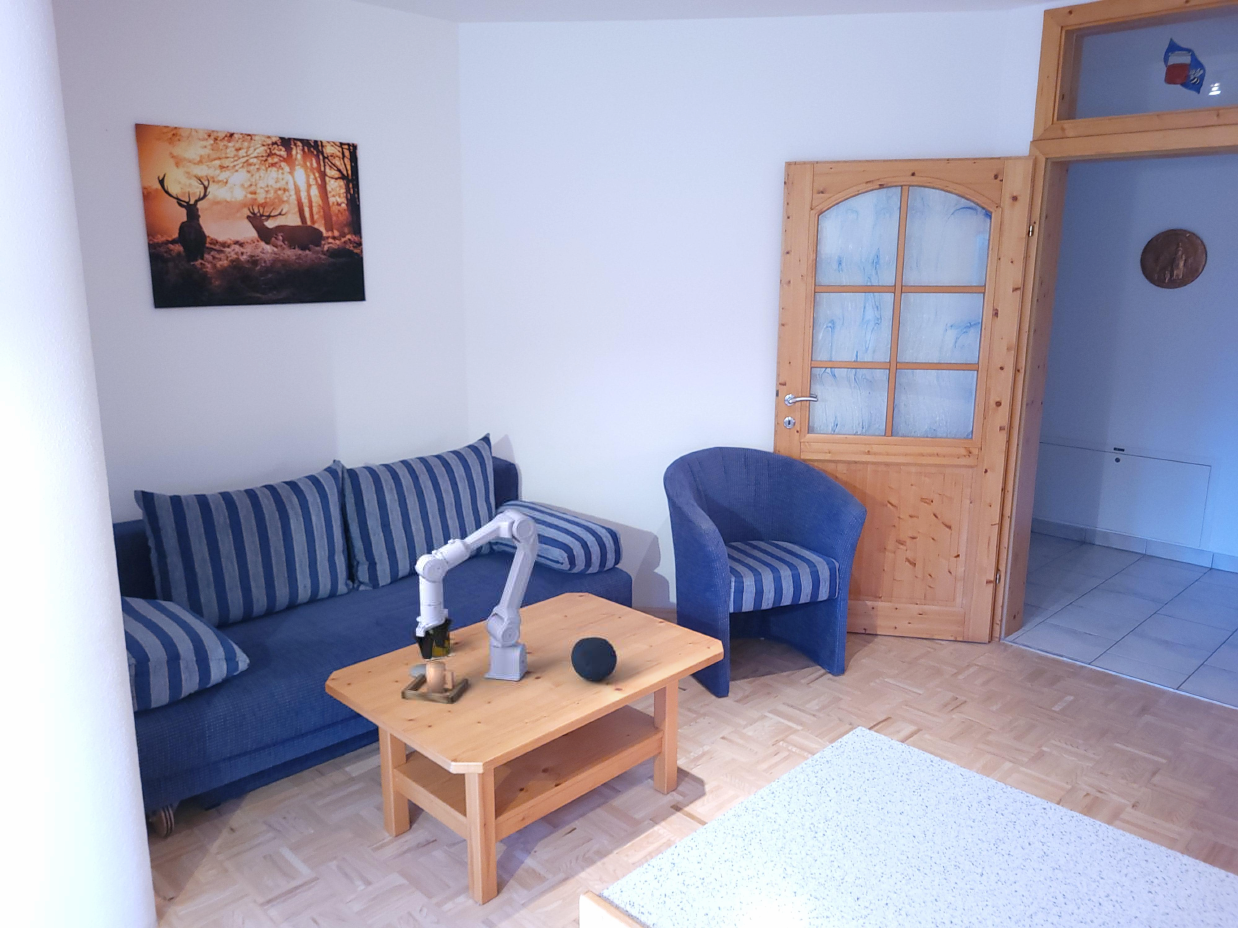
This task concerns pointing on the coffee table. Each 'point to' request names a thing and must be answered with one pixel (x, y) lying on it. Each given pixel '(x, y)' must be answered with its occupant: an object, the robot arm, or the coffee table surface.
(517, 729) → the coffee table surface
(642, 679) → the coffee table surface
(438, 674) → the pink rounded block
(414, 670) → the coaster
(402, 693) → the holder
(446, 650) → the condiment
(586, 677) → the decorative stone
